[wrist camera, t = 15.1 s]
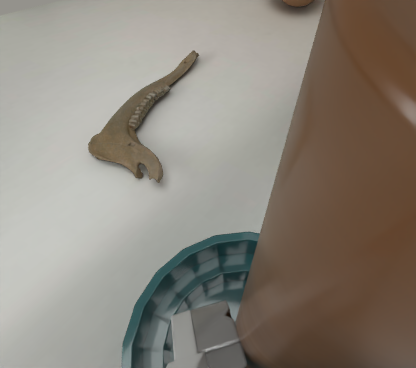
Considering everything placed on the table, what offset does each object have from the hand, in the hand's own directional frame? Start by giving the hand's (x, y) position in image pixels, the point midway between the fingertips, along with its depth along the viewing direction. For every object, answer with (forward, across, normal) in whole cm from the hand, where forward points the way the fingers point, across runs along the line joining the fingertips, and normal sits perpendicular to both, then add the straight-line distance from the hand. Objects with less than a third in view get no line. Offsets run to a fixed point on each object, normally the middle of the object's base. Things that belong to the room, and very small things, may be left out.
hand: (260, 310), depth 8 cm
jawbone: (+29, +1, +5) cm, 29 cm away
